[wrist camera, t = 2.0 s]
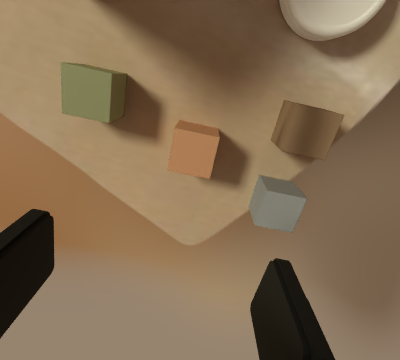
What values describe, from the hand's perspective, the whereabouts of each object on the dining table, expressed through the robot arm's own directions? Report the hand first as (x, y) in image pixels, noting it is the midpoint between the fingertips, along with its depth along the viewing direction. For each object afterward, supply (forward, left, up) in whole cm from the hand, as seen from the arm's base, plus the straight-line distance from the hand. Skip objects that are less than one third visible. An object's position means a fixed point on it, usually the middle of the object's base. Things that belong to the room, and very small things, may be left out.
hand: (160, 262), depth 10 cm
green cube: (+11, -3, -23) cm, 26 cm away
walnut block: (-13, -4, -23) cm, 26 cm away
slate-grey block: (-13, +6, -23) cm, 27 cm away
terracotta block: (-1, +1, -23) cm, 23 cm away
